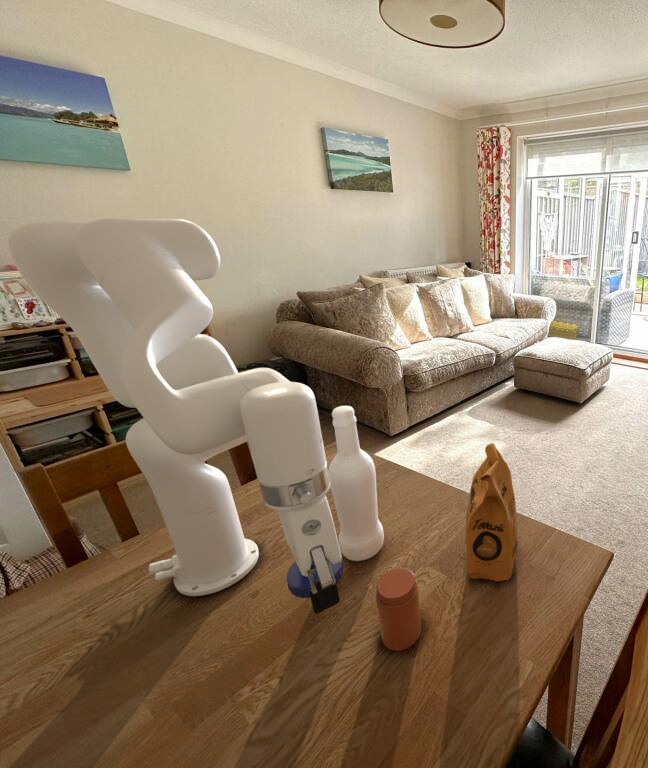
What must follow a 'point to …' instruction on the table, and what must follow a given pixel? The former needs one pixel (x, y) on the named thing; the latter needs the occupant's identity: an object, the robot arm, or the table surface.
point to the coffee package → (491, 520)
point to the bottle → (354, 490)
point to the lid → (301, 583)
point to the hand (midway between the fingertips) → (319, 587)
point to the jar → (398, 609)
